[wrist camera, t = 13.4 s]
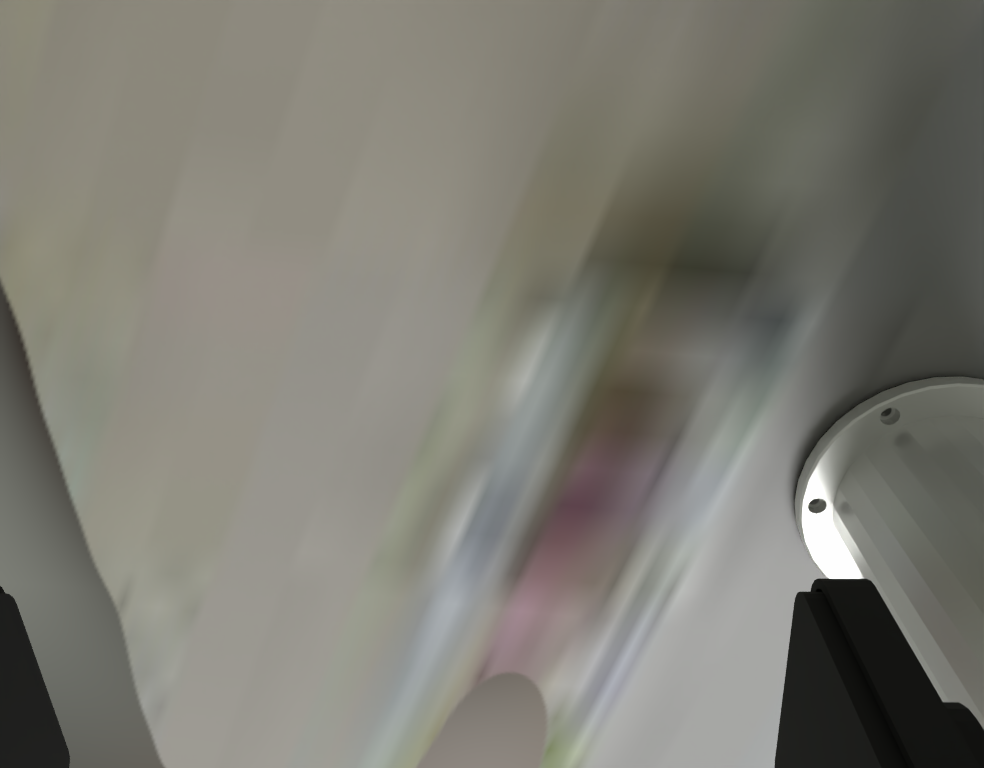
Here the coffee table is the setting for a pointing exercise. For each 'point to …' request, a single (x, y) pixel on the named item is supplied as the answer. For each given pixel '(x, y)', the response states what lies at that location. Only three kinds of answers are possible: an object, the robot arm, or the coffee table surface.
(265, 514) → the coffee table surface
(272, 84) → the coffee table surface
